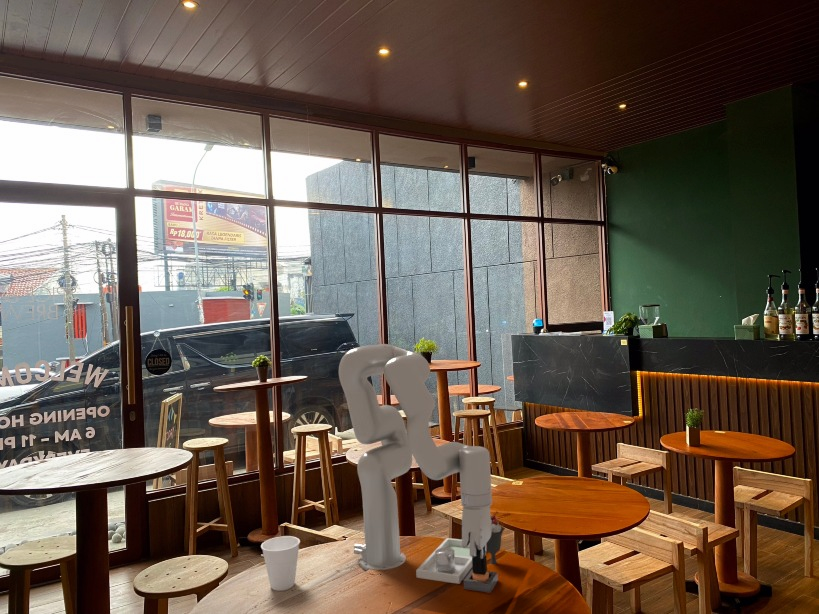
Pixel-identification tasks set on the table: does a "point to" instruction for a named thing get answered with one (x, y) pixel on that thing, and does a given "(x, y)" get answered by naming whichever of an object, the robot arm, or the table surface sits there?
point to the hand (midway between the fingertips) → (479, 572)
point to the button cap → (481, 577)
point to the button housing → (480, 582)
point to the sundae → (494, 539)
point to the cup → (281, 561)
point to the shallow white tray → (461, 563)
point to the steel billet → (445, 560)
